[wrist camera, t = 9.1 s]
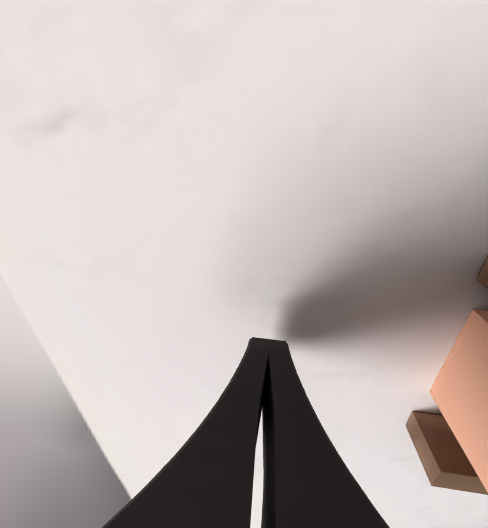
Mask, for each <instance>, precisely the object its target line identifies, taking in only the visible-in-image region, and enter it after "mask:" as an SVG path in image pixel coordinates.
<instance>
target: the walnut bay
mask: <svg viewBox="0 0 488 528" xmlns="http://www.w3.org/2000/svg"><path fill="white" fill-rule="evenodd" d="M477 280H478V281H479V282H481V283H482V284H483V285H485V286H486V287H487V288H488V257H487V259H486V261H485V263H484V265H483V267H482V269H481V271H480V273H479V275H478V278H477ZM406 427H407V430H408V432H409V434H410V437H411V439H412V441H413V444H414V446H415V448H416V451H417V453H418V455H419V458H420V460H421V462H422V465H423V467H424V469H425V472H426V474H427V476H428V479H429V481H430V483H431V486H435V487H442V488H448V489H455V490H461V491H467V492H474V493H480V494H487V495H488V492H487V491H486V489H485V487H484V485H483V484H482V482H481V480H480V478H479V477H478V475H477V473H476V472H475V470H474V468H473V466H472V465H471V463H470V461H469V459H468V458H467V456H466V454H465V452H464V451H463V449H462V447H461V446H460V444H459V442H458V440H457V439H456V437H455V435H454V433H453V432H452V430H451V428H450V426H449V425H448V423H447V421H446V420H445V418H444V416H442V415H434V414H427V413H419V412H412V413H411V415H410V417H409V419H408V421H407V424H406Z"/></svg>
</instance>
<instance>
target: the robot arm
mask: <svg viewBox="0 0 488 528" xmlns="http://www.w3.org/2000/svg"><path fill="white" fill-rule="evenodd" d="M261 411H262V415H263V467H264V481H263V505H262V523H261V528H390V527H389V526H388V525H387V523H386V522H385V521H384V519H383V518H382V517H381V515H380V514H379V513H378V511H377V510H376V509H375V507H374V506H373V504H372V503H371V502H370V500H369V499H368V497H367V496H366V494H365V493H364V491H363V490H362V489H361V487H360V486H359V484H358V483H357V481H356V480H355V478H354V477H353V476H352V474H351V473H350V471H349V470H348V468H347V467H346V465H345V463H344V462H343V460H342V459H341V457H340V455H339V454H338V452H337V451H336V449H335V447H334V446H333V444H332V442H331V441H330V439H329V437H328V435H327V434H326V432H325V430H324V428H323V427H322V425H321V423H320V421H319V419H318V417H317V415H316V413H315V411H314V409H313V407H312V405H311V403H310V401H309V399H308V397H307V395H306V393H305V390H304V388H303V386H302V384H301V381H300V379H299V377H298V374H297V372H296V369H295V366H294V364H293V361H292V358H291V354H290V351H289V347H288V344H287V343H286V341H280V340H271V339H263V338H255V337H252V338H251V339H250V340H249V343H248V346H247V349H246V352H245V354H244V356H243V358H242V360H241V362H240V364H239V366H238V368H237V370H236V372H235V373H234V375H233V377H232V379H231V381H230V382H229V384H228V386H227V387H226V389H225V390H224V392H223V393H222V395H221V396H220V398H219V400H218V401H217V403H216V404H215V405H214V407H213V408H212V410H211V411H210V412H209V414H208V415H207V417H206V418H205V419H204V420H203V422H202V423H201V424H200V426H199V427H198V428H197V429H196V431H195V432H194V433H193V434H192V436H191V437H190V438H189V439H188V440H187V442H186V443H185V444H184V445H183V446H182V448H181V449H180V450H179V451H178V452H177V453H176V454H175V455H174V457H173V458H172V459H171V460H170V461H169V462H168V463H167V464H166V465H165V466H164V467H163V468H162V469H161V470H160V471H159V473H158V474H157V475H156V476H155V477H154V478H153V479H152V480H151V481H150V482H149V483H148V484H147V485H146V486H145V487H144V488H143V489H142V490H141V491H140V492H139V493H138V494H137V495H136V496H135V497H134V498H133V499H132V500H131V501H130V502H129V503H128V504H127V505H126V506H125V507H123V508H122V509H121V510H120V511H119V512H118V513H117V514H116V515H115V516H114V517H113V518H112V519H111V520H110V521H108V522H107V524H105V525H104V526H103V527H102V528H250V520H251V506H252V491H253V476H254V462H255V448H256V442H257V436H258V430H259V423H260V417H261Z"/></svg>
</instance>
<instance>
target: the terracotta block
mask: <svg viewBox="0 0 488 528" xmlns="http://www.w3.org/2000/svg"><path fill="white" fill-rule="evenodd" d="M429 392H430V394H431V395H432V397H433V399H434V401H435V402H436V404H437V406H438V407H439V409H440V411H441V413H442V414H443V416H444V418H445V420H446V421H447V423H448V425H449V426H450V428H451V430H452V432H453V433H454V435H455V437H456V439H457V440H458V442H459V444H460V446H461V447H462V449H463V451H464V452H465V454H466V456H467V458H468V459H469V461H470V463H471V465H472V466H473V468H474V470H475V472H476V473H477V475H478V477H479V478H480V480H481V482H482V484H483V485H484V487H485V489H486V491H487V492H488V311H482V310H472V311H471V313H470V315H469V317H468V319H467V321H466V323H465V325H464V327H463V329H462V330H461V332H460V334H459V336H458V338H457V340H456V342H455V344H454V346H453V347H452V349H451V351H450V353H449V355H448V357H447V359H446V361H445V363H444V364H443V366H442V368H441V370H440V372H439V374H438V376H437V378H436V380H435V381H434V383H433V385H432V387H431V389H430V391H429Z"/></svg>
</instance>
